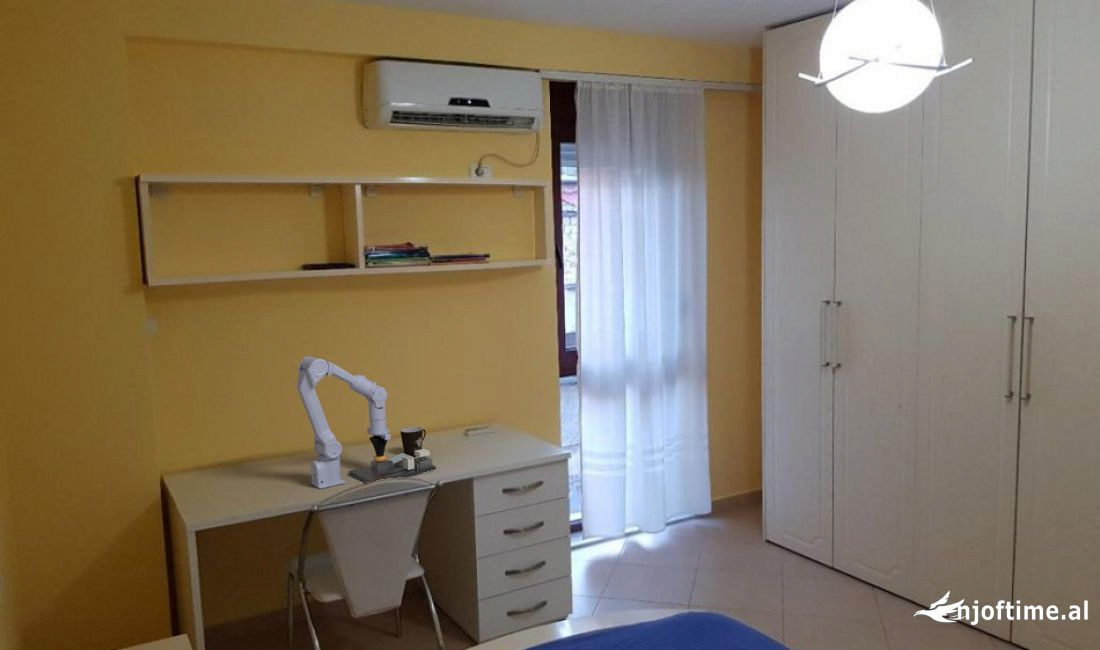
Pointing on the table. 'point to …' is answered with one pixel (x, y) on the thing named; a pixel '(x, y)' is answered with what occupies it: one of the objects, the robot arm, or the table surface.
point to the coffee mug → (412, 439)
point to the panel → (391, 470)
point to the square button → (422, 453)
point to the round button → (380, 458)
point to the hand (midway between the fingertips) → (380, 456)
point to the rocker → (396, 458)
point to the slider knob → (408, 462)
